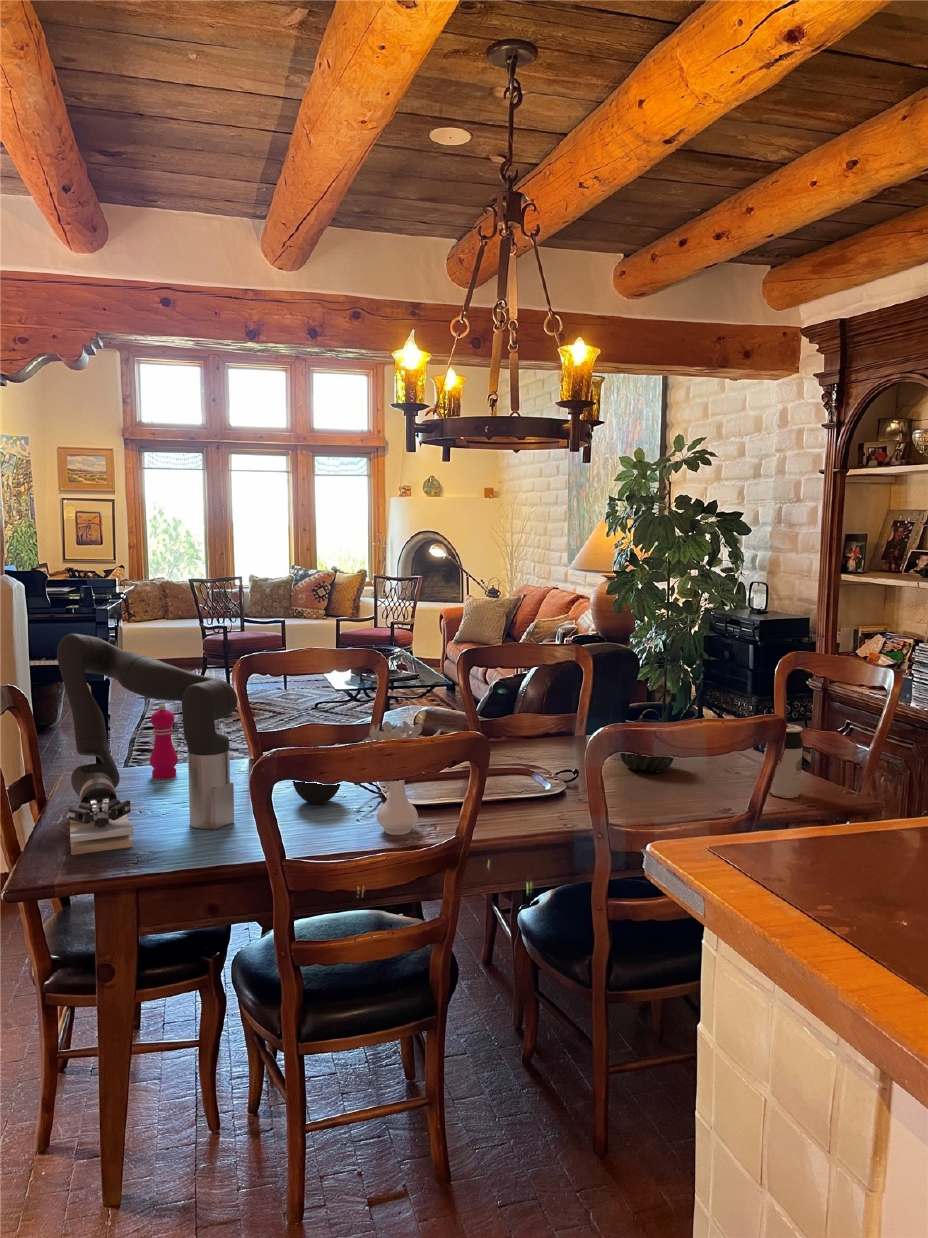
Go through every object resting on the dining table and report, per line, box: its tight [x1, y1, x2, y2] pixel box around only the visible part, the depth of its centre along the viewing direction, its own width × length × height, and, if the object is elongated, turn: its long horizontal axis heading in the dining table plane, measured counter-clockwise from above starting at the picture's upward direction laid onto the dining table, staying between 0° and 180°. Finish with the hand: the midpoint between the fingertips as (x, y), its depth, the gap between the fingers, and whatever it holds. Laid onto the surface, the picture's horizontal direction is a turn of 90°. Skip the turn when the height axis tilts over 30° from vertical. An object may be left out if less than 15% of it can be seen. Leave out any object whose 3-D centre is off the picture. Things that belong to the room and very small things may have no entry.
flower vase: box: [360, 720, 442, 836], centre depth 199 cm, size 13×18×25 cm
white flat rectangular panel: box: [69, 819, 134, 843], centre depth 187 cm, size 1×12×14 cm
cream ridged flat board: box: [69, 814, 133, 856], centre depth 195 cm, size 20×12×2 cm, turn 25°
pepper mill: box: [149, 703, 179, 780], centre depth 238 cm, size 7×7×20 cm
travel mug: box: [771, 723, 804, 796], centre depth 228 cm, size 8×8×18 cm
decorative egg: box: [292, 743, 342, 805], centre depth 217 cm, size 12×12×15 cm
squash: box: [619, 721, 675, 773], centre depth 250 cm, size 14×15×15 cm
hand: (101, 823), depth 180 cm, fingers closed
